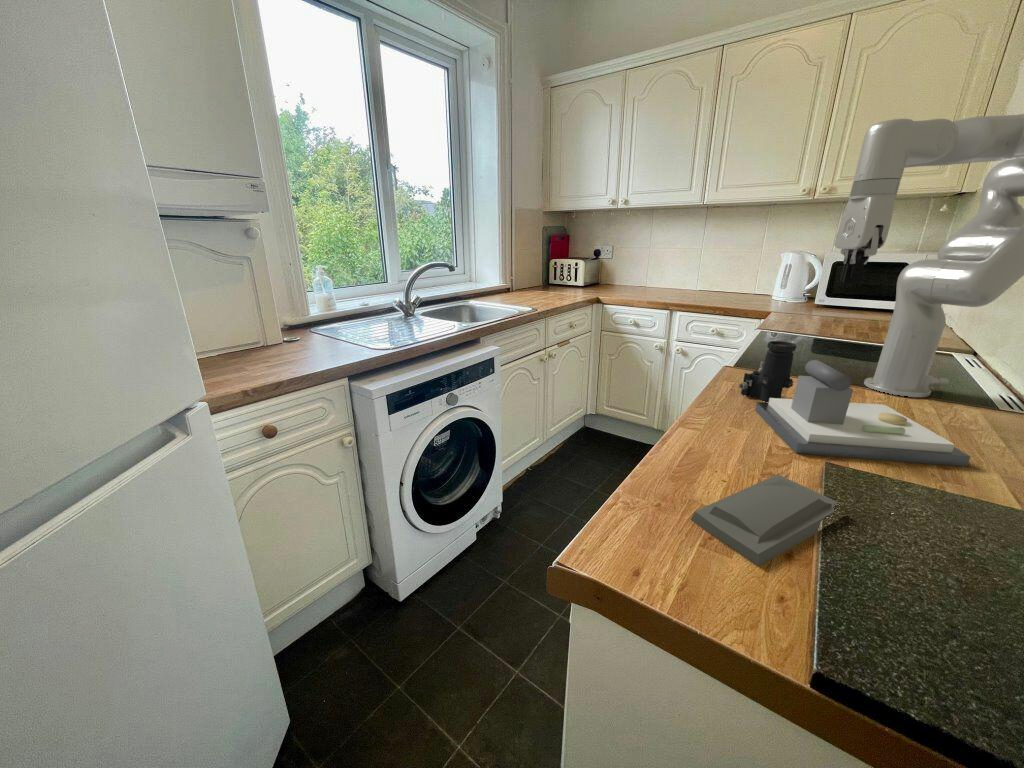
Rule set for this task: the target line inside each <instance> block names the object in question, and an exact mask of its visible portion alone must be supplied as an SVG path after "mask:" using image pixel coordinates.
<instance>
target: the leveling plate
mask: <svg viewBox="0 0 1024 768" xmlns="http://www.w3.org/2000/svg"><path fill="white" fill-rule="evenodd" d="M804 370H805V372H806V373H807V374H809V375H798V377H797V382H796V386H795V390H794V394H793V398H769V403H768V404H769V405H770V406H771V407H772V408H773V409H774V410H775V411H776V412H777V413H778V414H779V415H780V416H781V417H782V418H783V419H784V420H785V421H787V422H788V423H789V424H790V425H791V426H792V427H793V428H794V429H795V430H796V431H797V432H798V433H799V434H800V435H801V436H802V437H803V438H805V439H806V440H807V441H808V442H819V443H832V444H845V445H859V446H872V447H885V448H899V449H912V450H925V451H939V452H952V451H953V448H954V447H955V446H956V445H955V444H954V443H953V442H951V441H949V440H948V439H946V438H944V437H942V436H941V435H940V434H937V433H935V432H933V431H932V430H930V429H928V428H927V427H924V426H923V425H921V424H919V423H918V422H916V421H914V420H913V419H911V418H909V417H907V416H905V415H904V414H902V413H900V412H898V411H897V410H895V409H893V408H892V407H889V406H888V405H886V404H881V403H879V404H876V403H863V402H862V403H861V402H851V399H852V395H853V391H854V389H853V388H852V387H851V384H852V379H851V377H850V376H848V375H846V374H844V373H842V372H840V371H839V370H838V369H835V368H833V367H831V366H829V365H828V364H826V363H824V362H822V361H820V360H817V359H811V360H809V361H808V362H807V363H806V364H805V367H804Z"/></svg>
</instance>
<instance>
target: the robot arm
mask: <svg viewBox="0 0 1024 768" xmlns="http://www.w3.org/2000/svg"><path fill="white" fill-rule="evenodd" d="M999 161H1002V162H1000V163H998V164H996V165H995V166H993V167H992V168H991V169H990V170H989V172H988V173H987V174H986V176H985V177H984V179H983V181H982V182H983V183H982V188H981V195H980V202H979V208H978V211H977V212H976V214H974V216H973V217H972V218H971V219H970V220H969V221H967V223H966V224H964V225H963V226H962V227H960V228H959V229H958V230H957V231H956V232H954V234H953V235H952V236H950V237H949V238H948V239H947V240H946V241H945V242H944V243H943V244H942V246H941V247H940V248H939V250H938V252H937V259H935V258H933V259H930V258H929V259H921V260H918V261H914V262H912V263H909V264H908V265H906V266H905V267H904V268H903V269H902V270H901V271H900V273H899V275H898V277H897V281H896V293H895V304H894V309H893V313H892V315H891V320H890V322H889V327H888V330H887V333H886V336H885V339H884V343H883V346H882V350H881V353H880V356H879V360H878V363H877V366H876V369H875V373H874V375H873V377H872V376H871V377H867V378H865V379H864V382H863V385H865V387H867V388H869V389H870V390H873V389H874V391H876V390H877V392H879V391H880V393H883V392H885V393H884V394H887V393H889V394H888V395H892V394H893V395H892V396H897V395H900V396H899V397H904V396H908V397H907V398H927V397H929V396H930V395H931V393H932V390H931V389H930V388H929V387H933V386H937V387H940V386H941V387H947V386H948V385H950V384H949V383H950V380H949V379H948V378H943V377H936V378H935V377H934V375H929V372H930V370H931V367H932V364H933V360H934V358H935V356H936V353H937V349H938V346H939V344H940V340H941V338H942V336H943V332H944V330H945V327H946V323H947V322H946V321H947V320H946V314H945V311H944V309H943V306H942V305H950V306H958V307H967V308H978V307H984V306H987V305H989V304H990V303H992V302H994V301H995V300H997V299H998V298H999V297H1000V296H1002V295H1003V294H1004V293H1005V292H1006V291H1007V290H1009V289H1010V288H1011V287H1012V286H1013V285H1014V284H1015V283H1017V282H1018V281H1019V280H1021V279H1022V277H1024V208H1023V206H1022V205H1021V204H1020V203H1019V202H1018V201H1019V200H1018V199H1019V197H1024V113H1020V114H1010V115H1009V114H1008V115H1007V114H1005V115H990V116H989V115H986V116H985V115H982V116H973V117H968V118H964V119H963V118H962V119H959V120H958V119H957V120H954V121H952V120H950V119H947V118H934V119H926V120H913V119H910V118H895V119H888V120H882V121H878V122H876V123H874V124H872V125H871V126H869V127H868V128H867V129H866V131H865V134H864V138H863V141H862V144H861V148H860V153H859V157H858V160H857V165H856V169H855V174H854V177H853V180H852V186H851V189H850V193H849V197H848V202H847V204H846V206H845V208H844V211H843V214H842V217H841V219H840V223H839V225H838V228H837V233H836V236H835V239H834V243H833V246H834V247H835V248H836V249H840V254H841V255H843V266H842V271H841V273H840V274H841V275H840V279H839V283H842V284H861V281H862V277H863V273H864V269H865V266H866V265H867V263H868V262H869V259H870V257H874V256H876V255H877V253H878V250H879V249H881V248H882V247H884V245H885V243H886V241H887V238H888V234H889V230H890V227H891V223H892V218H893V212H894V207H895V199H896V198H897V196H898V193H899V192H898V191H899V189H900V185H901V181H902V177H903V175H904V170H905V168H915V167H936V166H937V167H938V166H942V167H943V166H952V165H963V164H974V163H987V162H988V163H989V162H999Z"/></svg>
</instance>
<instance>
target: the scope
mask: <svg viewBox="0 0 1024 768" xmlns="http://www.w3.org/2000/svg"><path fill="white" fill-rule="evenodd" d="M767 349H768V350H767V351H766V354H765V357H764V361H760V365H759V368H758V370H752V373H748V372H745V373H744V376H743V381H742V382H740V383H739V384H738V388H739V389H740V390H741V391H740V395H741V394H742V396H744V395H746V396H745V397H751V396H753V397H752V398H754V397H755V398H754V399H756V398H758V399H757V400H759V399H761V400H762V401H761V400H760V401H761V402H763V401H765V402H769V398H780V399H782V394H783V389H784V388H785V389H790V388H791V387H793V385H794V380H793V378H791V371H792V364H793V360H794V352H795V351H796V349H797V344H795V343H792V342H788V341H783V340H782V341H781V340H773V341H768V343H767ZM748 395H750V396H748Z"/></svg>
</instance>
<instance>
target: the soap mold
mask: <svg viewBox="0 0 1024 768" xmlns="http://www.w3.org/2000/svg"><path fill="white" fill-rule="evenodd" d="M835 502H836V503H839V504H841V505H842V504H843V503H841V502H839V501H837V500H835V499H833V500H832V498H830V497H828V496H825V495H823V494H822V493H819V492H817V491H815V490H813V489H810V488H809V487H807V486H804V485H802V484H800V483H797V482H796V481H793V480H791V479H789V478H788V477H785V476H783V475H781V474H778V473H777V474H775V475H773V476H770V477H768V478H766V479H764V480H762V481H760V482H757V483H754V484H752V485H750V486H748V487H746V488H743V489H742V490H740V491H737V492H735V493H733V494H730V495H729V496H726V497H724V498H721V499H720V500H719V499H718V500H717V501H715V502H713V503H710V504H708V505H706V506H704V507H701V508H699V509H697V510H695V511H694V513H692V515H691V518H690V521H692V522H693V523H694V524H695V525H696V526H698V527H700V528H701V529H702V530H704V531H706V532H707V533H709V534H710V535H712V536H713V537H714V538H716V539H718V540H719V541H720V542H721V543H723V544H725V545H727V546H728V547H730V548H731V549H732V550H733V551H735V552H737V553H738V554H739V555H741V556H742V557H744V558H745V559H747V560H748V561H750V562H751V563H753V564H754V565H756V567H759V568H760V566H762V565H764V564H766V563H768V562H769V561H771V560H772V559H774V558H776V557H778V556H780V555H782V554H784V553H785V552H786V551H788V550H790V549H792V548H794V547H795V546H797V545H799V544H800V543H802V542H804V541H806V540H808V539H809V538H812V537H813V536H814V535H815V536H816V535H817V534H818V533H819V532H818V528H819V525H820V522H821V521H822V520H823V519H824V518H825V517H826V516H828V515H830V514H831V513H833V512H834V511H836V510H837V509H838V508H837V509H835V510H834V508H835V507H834V506H835V505H834V504H836V503H835ZM839 504H836V505H839ZM839 506H840V505H839ZM833 507H834V508H833ZM839 508H840V507H839ZM817 532H818V533H817Z"/></svg>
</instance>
